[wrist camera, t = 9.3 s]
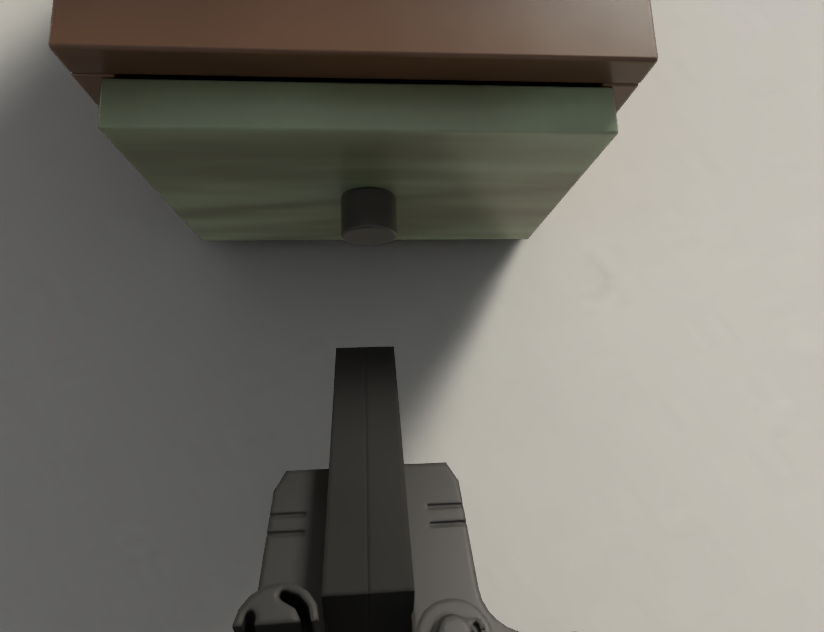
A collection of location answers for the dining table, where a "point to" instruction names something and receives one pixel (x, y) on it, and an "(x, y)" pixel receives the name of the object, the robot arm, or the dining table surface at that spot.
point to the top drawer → (357, 153)
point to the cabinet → (359, 40)
